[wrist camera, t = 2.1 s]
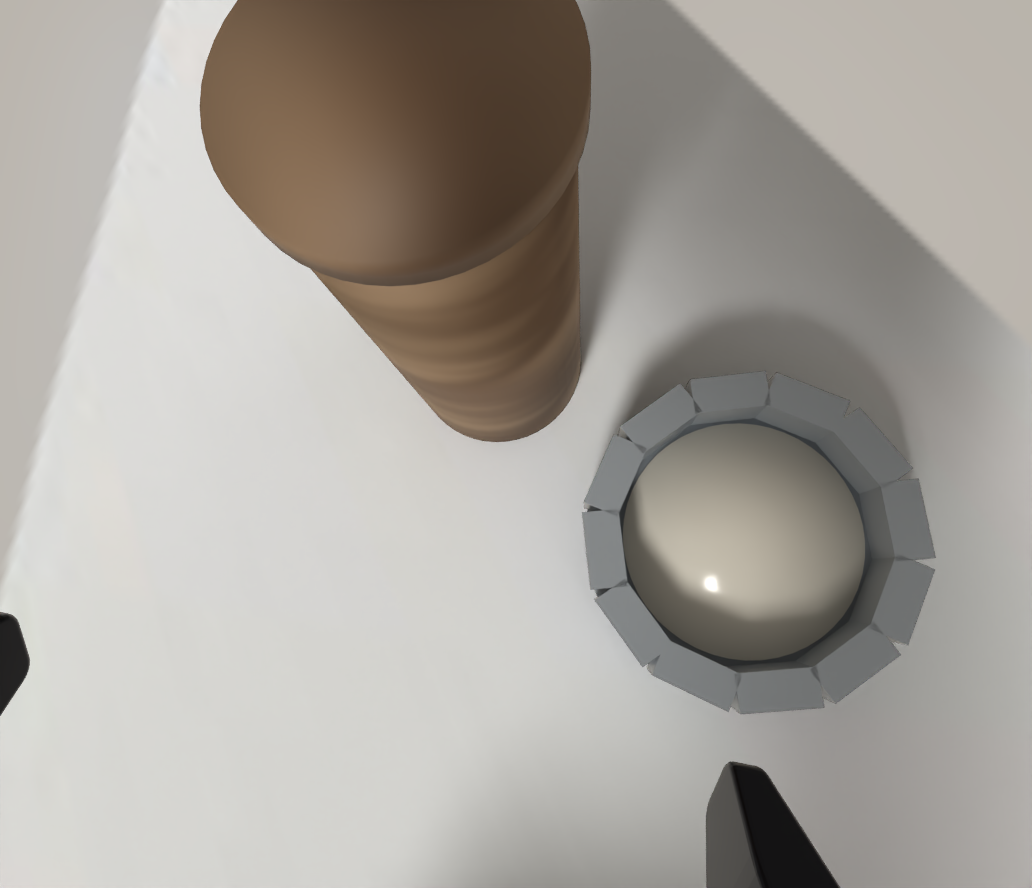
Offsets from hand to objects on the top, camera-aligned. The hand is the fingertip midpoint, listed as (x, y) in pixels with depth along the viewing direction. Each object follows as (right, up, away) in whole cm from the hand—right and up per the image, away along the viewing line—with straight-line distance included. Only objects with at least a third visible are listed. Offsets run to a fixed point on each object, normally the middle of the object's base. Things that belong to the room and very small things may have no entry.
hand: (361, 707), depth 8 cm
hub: (+9, 0, +12) cm, 15 cm away
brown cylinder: (+1, +6, +14) cm, 16 cm away
